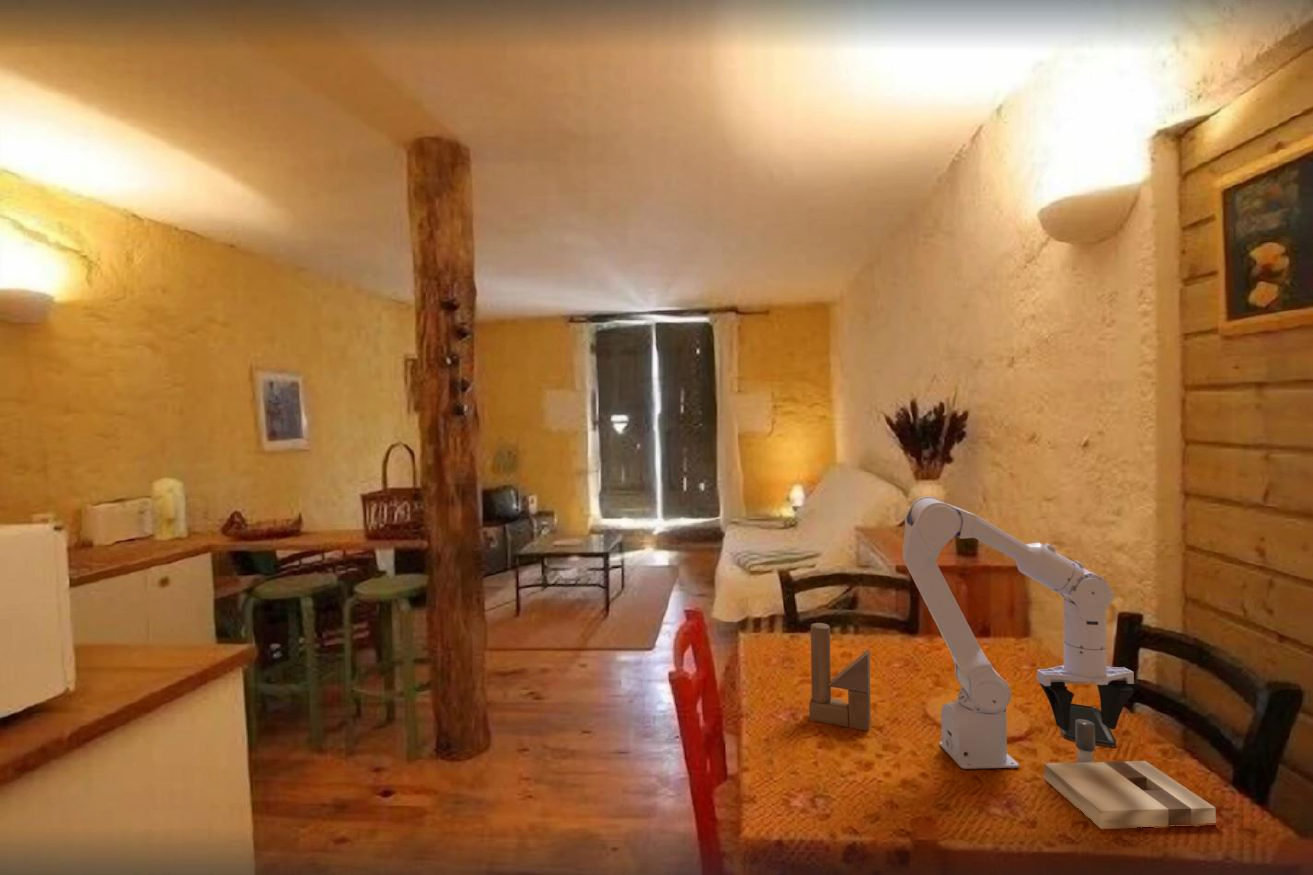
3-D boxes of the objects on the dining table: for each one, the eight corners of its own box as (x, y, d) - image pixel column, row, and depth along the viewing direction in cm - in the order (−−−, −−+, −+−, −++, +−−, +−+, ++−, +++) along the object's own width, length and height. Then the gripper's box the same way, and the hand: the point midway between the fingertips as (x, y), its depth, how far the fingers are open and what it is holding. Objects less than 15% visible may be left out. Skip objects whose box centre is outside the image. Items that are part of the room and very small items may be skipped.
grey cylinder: (1083, 770, 99) (1082, 726, 99) (1071, 761, 101) (1071, 719, 101) (1099, 769, 99) (1098, 726, 99) (1087, 761, 101) (1087, 718, 101)
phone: (1098, 707, 119) (1117, 743, 105) (1099, 713, 119) (1117, 750, 105) (1050, 700, 122) (1062, 734, 109) (1050, 706, 122) (1062, 740, 109)
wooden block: (868, 732, 112) (867, 634, 112) (809, 721, 117) (807, 626, 116) (870, 723, 115) (869, 628, 115) (812, 712, 120) (811, 621, 120)
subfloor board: (1100, 828, 84) (1100, 810, 84) (1044, 779, 96) (1044, 763, 96) (1215, 825, 85) (1215, 807, 85) (1145, 776, 97) (1145, 760, 97)
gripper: (1056, 654, 96) (1057, 740, 96) (1148, 651, 96) (1149, 738, 96) (1028, 638, 103) (1029, 719, 103) (1114, 636, 103) (1115, 716, 103)
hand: (1085, 727), depth 100 cm, fingers open, 7 cm apart
